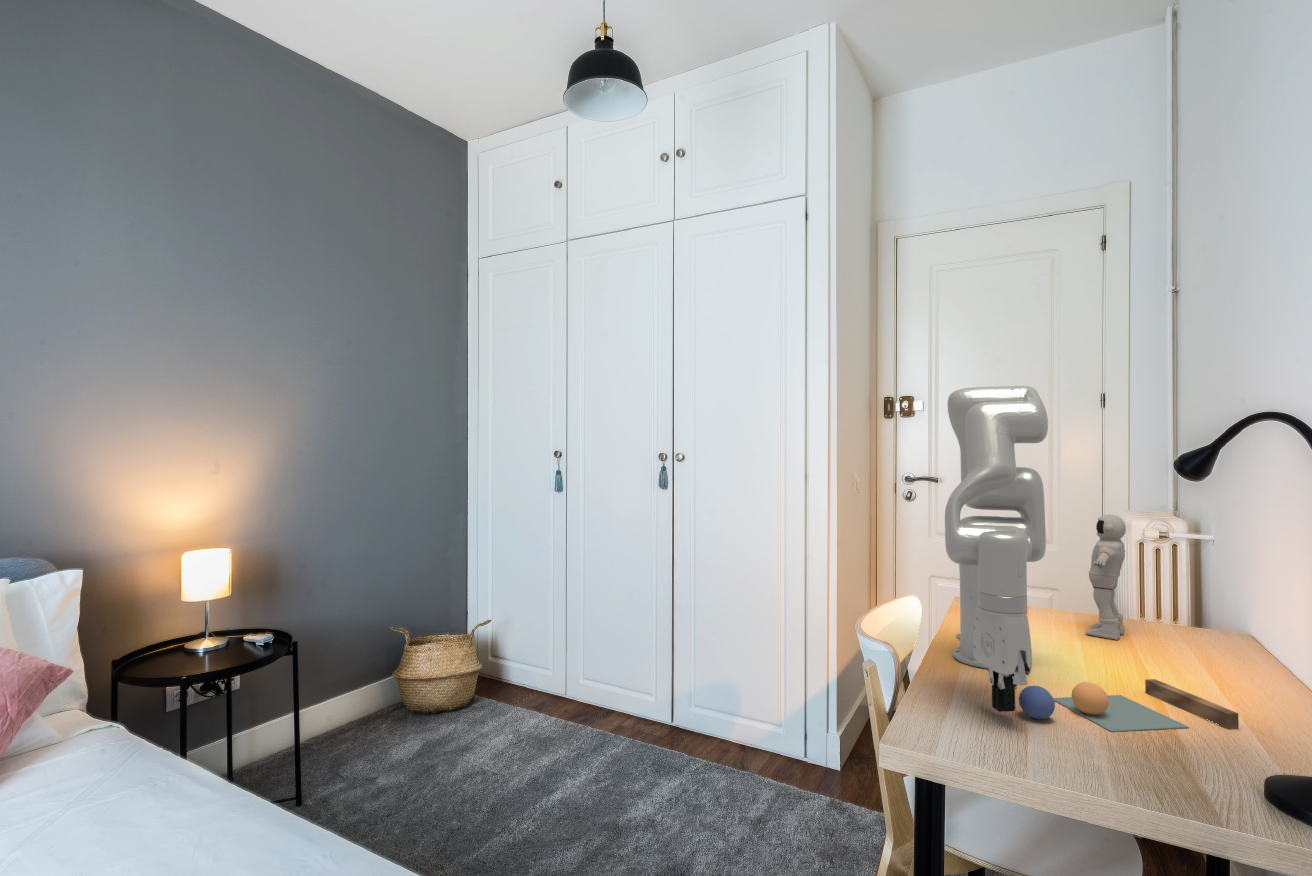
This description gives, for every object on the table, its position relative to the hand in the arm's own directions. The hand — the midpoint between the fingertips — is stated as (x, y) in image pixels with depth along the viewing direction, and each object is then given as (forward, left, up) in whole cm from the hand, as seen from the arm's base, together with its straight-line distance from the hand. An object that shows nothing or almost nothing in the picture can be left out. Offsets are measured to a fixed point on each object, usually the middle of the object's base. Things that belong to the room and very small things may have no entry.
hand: (1003, 709), depth 112 cm
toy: (-44, +57, -2) cm, 72 cm away
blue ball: (+1, +6, +1) cm, 6 cm away
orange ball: (0, +16, +1) cm, 16 cm away
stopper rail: (0, +35, -2) cm, 35 cm away
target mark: (0, +21, -2) cm, 21 cm away
